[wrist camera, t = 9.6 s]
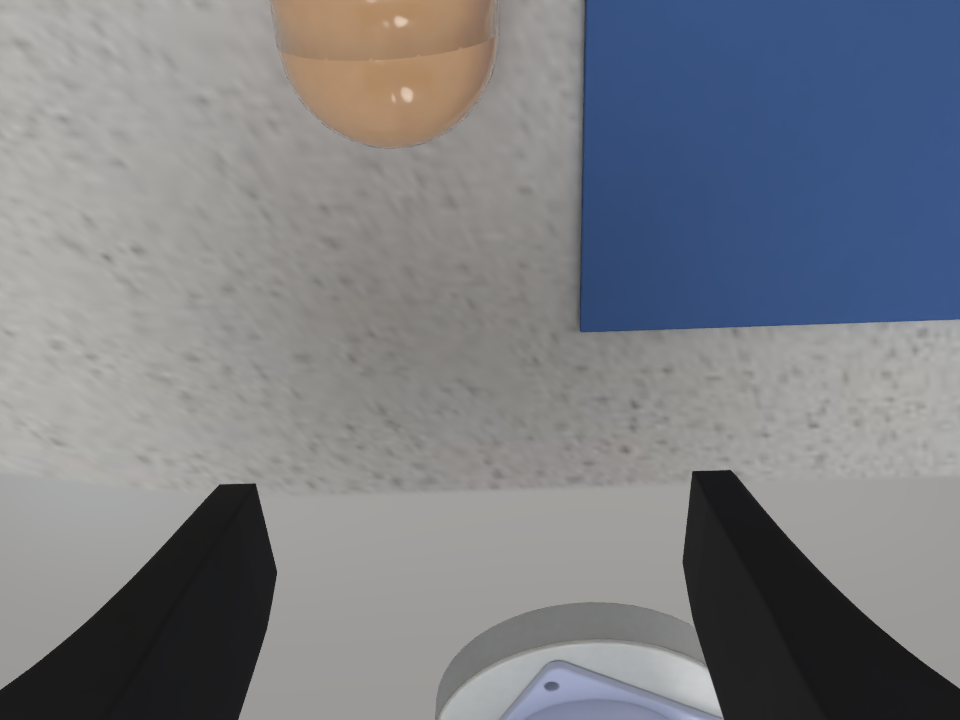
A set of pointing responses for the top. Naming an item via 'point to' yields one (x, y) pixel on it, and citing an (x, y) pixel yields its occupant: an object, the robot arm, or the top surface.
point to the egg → (388, 64)
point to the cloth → (769, 163)
